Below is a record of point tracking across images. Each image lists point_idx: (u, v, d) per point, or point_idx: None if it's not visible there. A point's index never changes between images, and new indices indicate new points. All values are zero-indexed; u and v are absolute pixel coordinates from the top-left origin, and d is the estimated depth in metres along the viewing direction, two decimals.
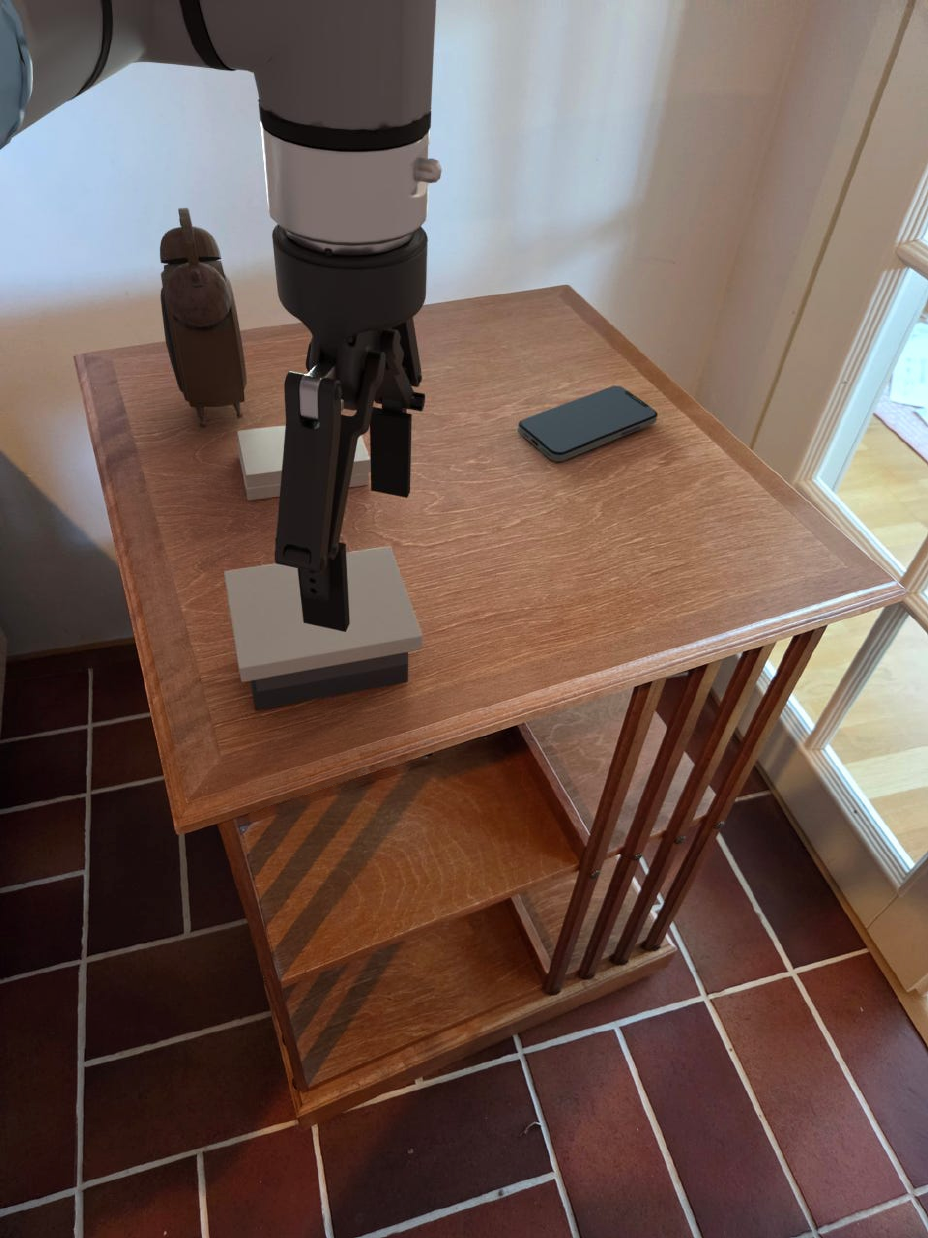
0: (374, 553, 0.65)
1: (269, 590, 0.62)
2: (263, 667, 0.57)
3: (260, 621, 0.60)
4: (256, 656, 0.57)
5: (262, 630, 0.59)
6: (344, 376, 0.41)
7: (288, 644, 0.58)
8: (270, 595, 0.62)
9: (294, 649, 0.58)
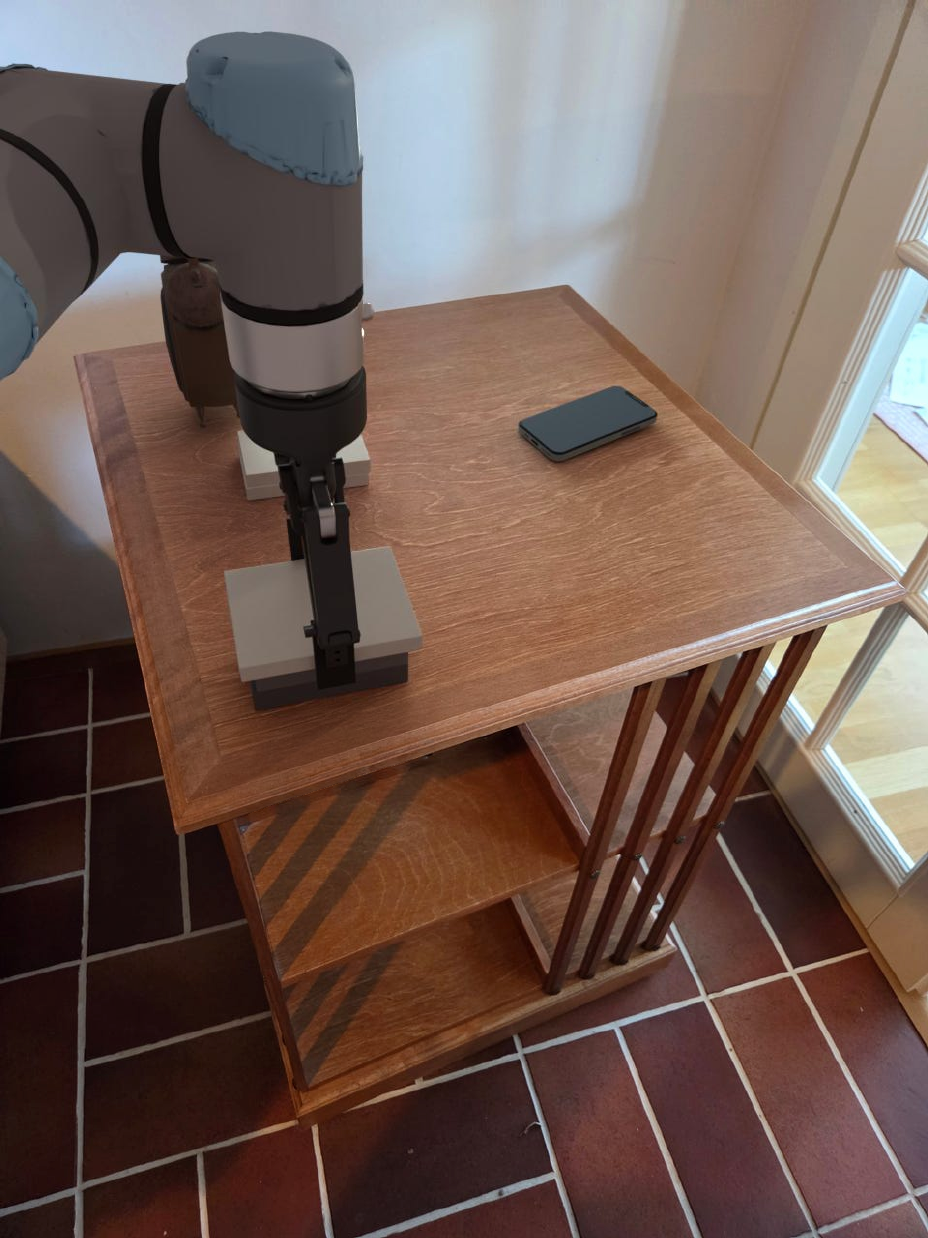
0: (374, 553, 0.65)
1: (269, 590, 0.62)
2: (263, 667, 0.57)
3: (260, 621, 0.60)
4: (255, 656, 0.57)
5: (262, 630, 0.59)
6: (333, 488, 0.49)
7: (288, 644, 0.58)
8: (270, 595, 0.62)
9: (294, 649, 0.58)
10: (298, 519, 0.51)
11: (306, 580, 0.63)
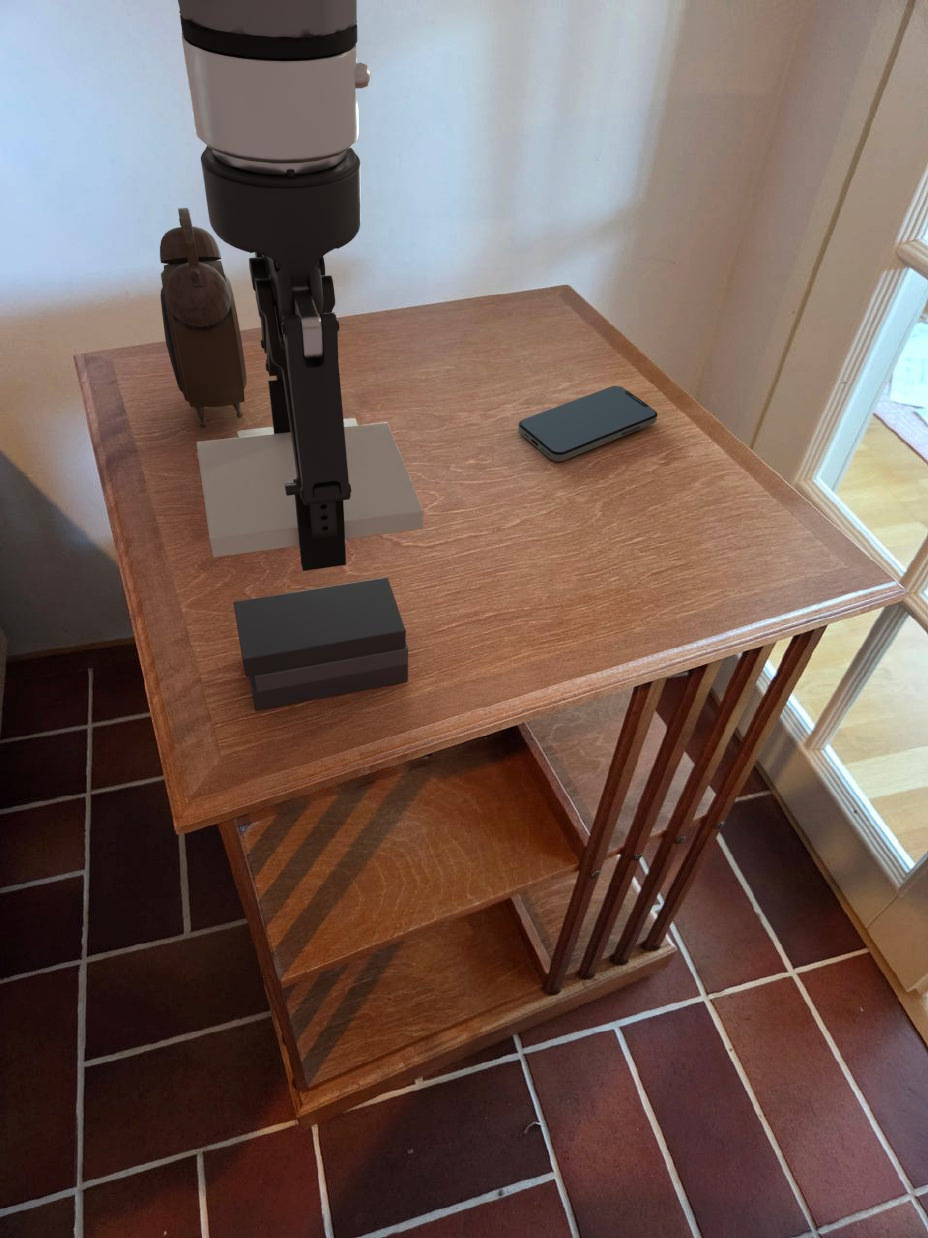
0: (369, 428, 0.58)
1: (247, 462, 0.54)
2: (238, 539, 0.49)
3: (236, 492, 0.52)
4: (230, 526, 0.50)
5: (238, 501, 0.51)
6: (320, 301, 0.41)
7: (268, 516, 0.50)
8: (249, 466, 0.54)
9: (275, 520, 0.50)
10: (278, 346, 0.43)
11: (291, 453, 0.55)
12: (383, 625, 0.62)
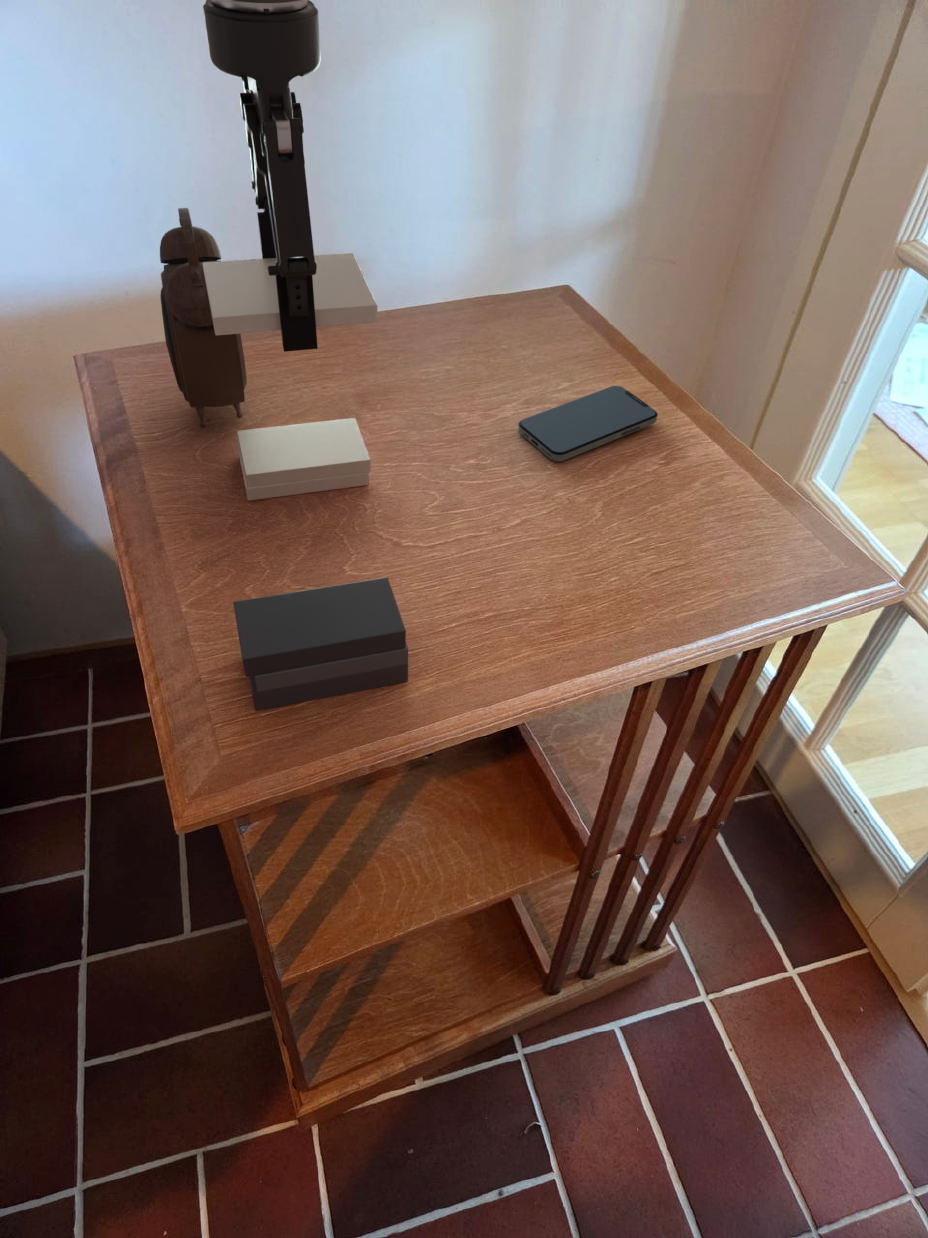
0: (338, 256, 0.73)
1: (242, 274, 0.69)
2: (234, 320, 0.65)
3: (233, 291, 0.67)
4: (228, 311, 0.65)
5: (234, 296, 0.67)
6: (290, 115, 0.57)
7: (257, 305, 0.66)
8: (243, 277, 0.69)
9: (262, 308, 0.66)
10: (261, 155, 0.59)
11: None
12: (383, 625, 0.62)
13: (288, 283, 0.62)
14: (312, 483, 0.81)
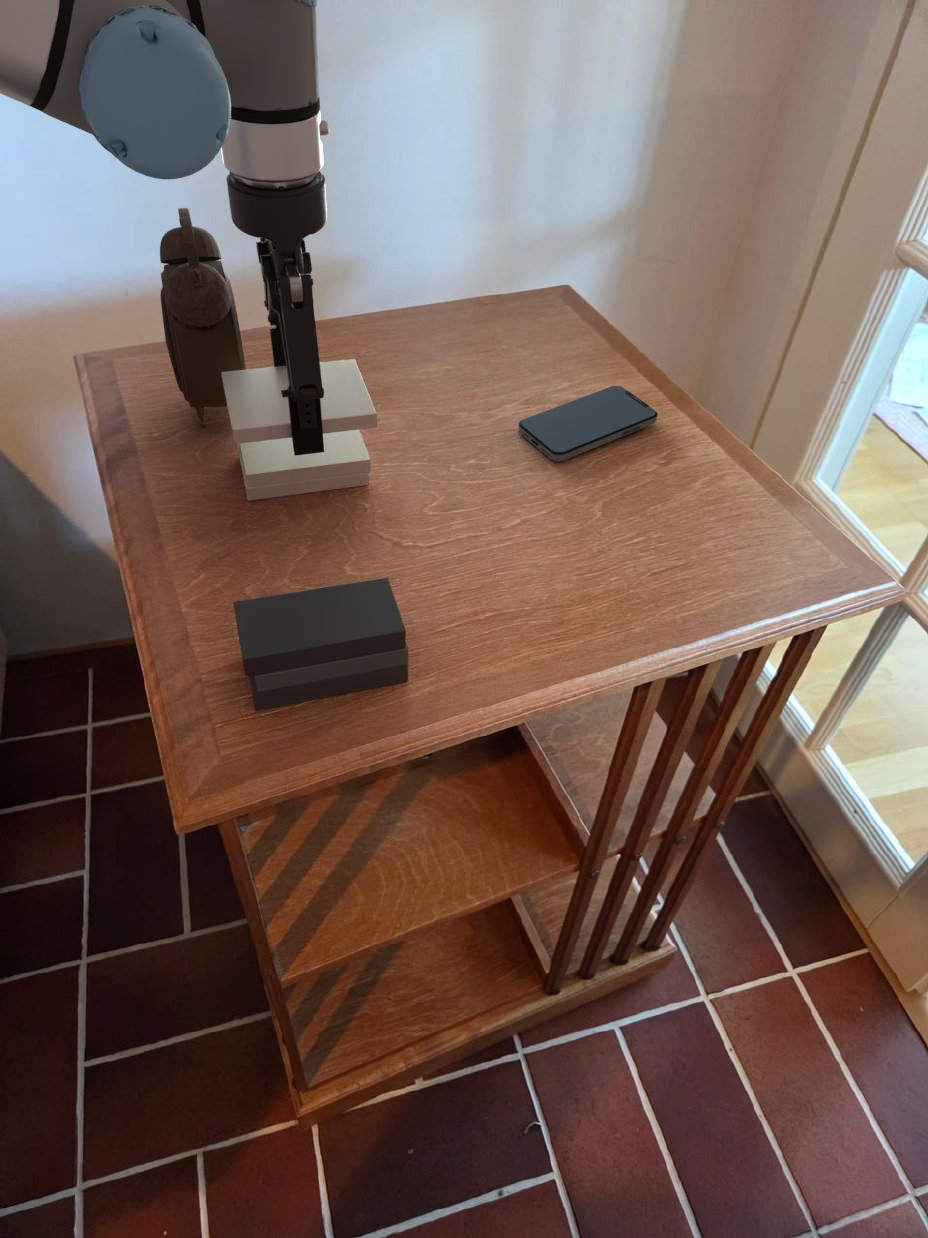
0: (341, 363, 0.82)
1: (256, 384, 0.78)
2: (251, 431, 0.74)
3: (249, 402, 0.76)
4: (246, 422, 0.74)
5: (251, 407, 0.76)
6: (301, 267, 0.66)
7: (271, 416, 0.75)
8: (257, 387, 0.78)
9: (276, 419, 0.75)
10: (276, 298, 0.68)
11: (286, 378, 0.79)
12: (383, 625, 0.62)
13: (299, 403, 0.71)
14: (312, 483, 0.81)
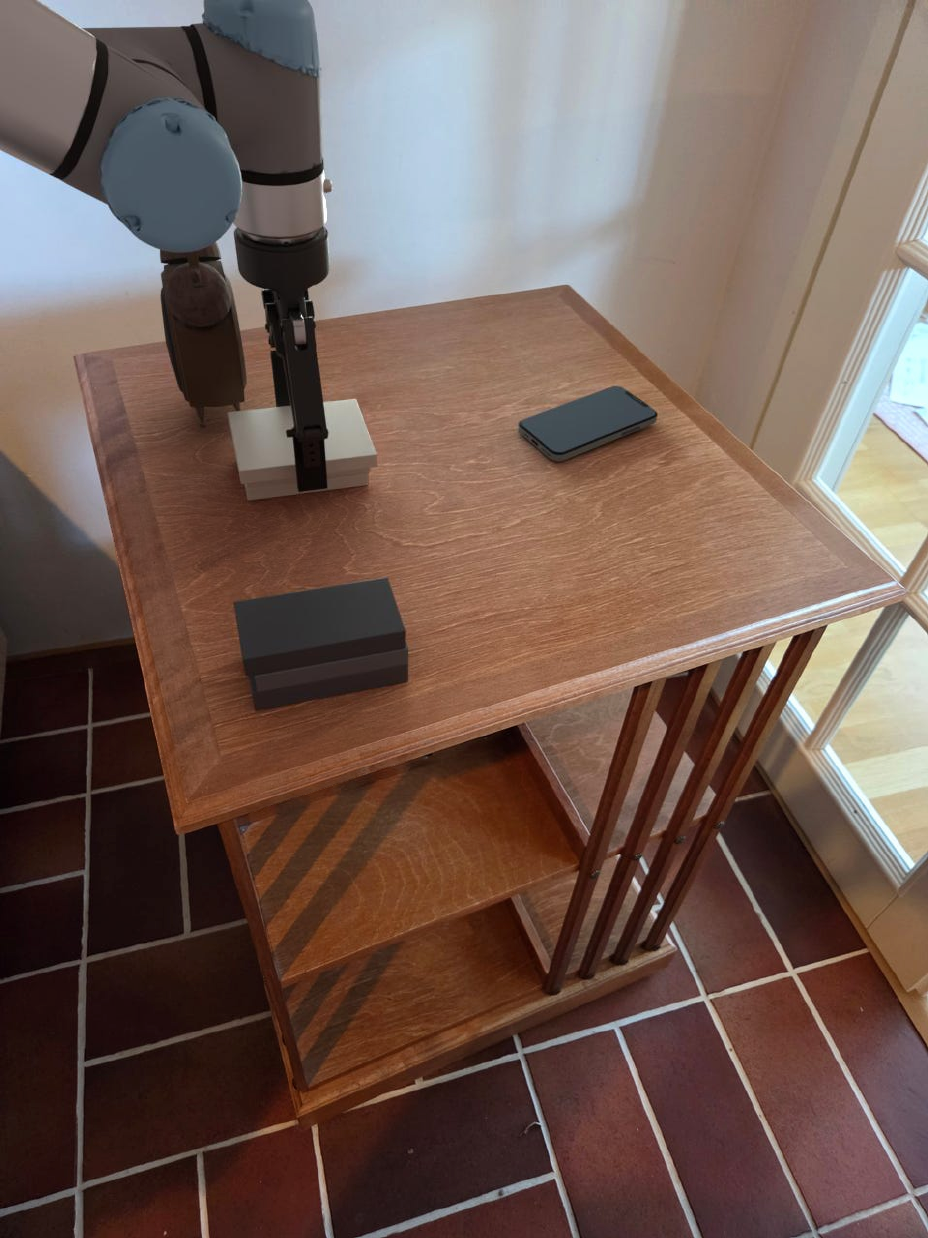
0: (343, 403, 0.85)
1: (261, 424, 0.82)
2: (257, 472, 0.77)
3: (255, 443, 0.79)
4: (251, 464, 0.77)
5: (256, 448, 0.79)
6: (305, 316, 0.69)
7: (276, 457, 0.78)
8: (262, 427, 0.81)
9: (280, 460, 0.78)
10: (280, 342, 0.70)
11: (290, 419, 0.83)
12: (383, 625, 0.62)
13: (303, 443, 0.72)
14: None
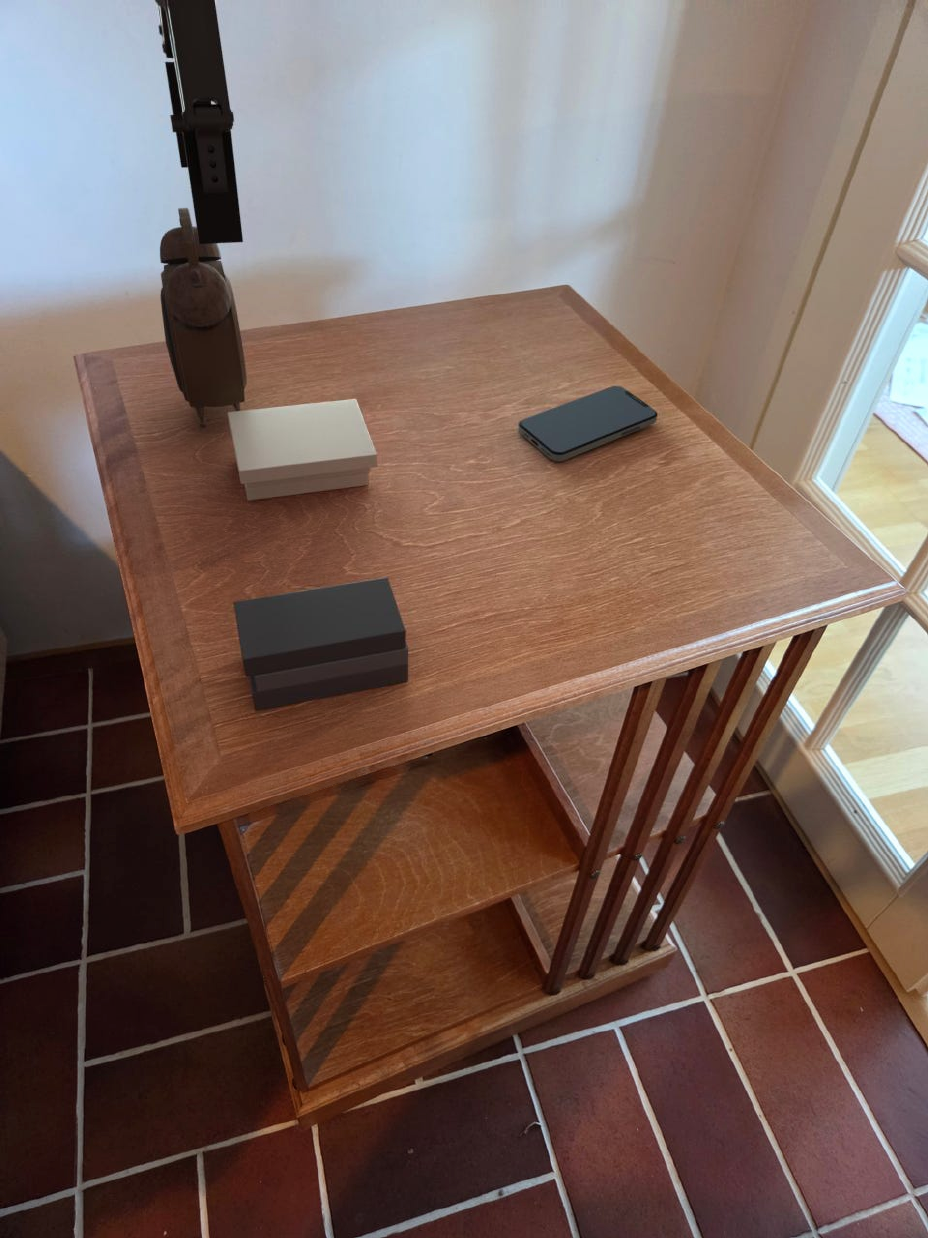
0: (343, 403, 0.85)
1: (261, 424, 0.82)
2: (257, 472, 0.77)
3: (255, 443, 0.79)
4: (251, 464, 0.77)
5: (256, 448, 0.79)
6: None
7: (276, 457, 0.78)
8: (262, 427, 0.81)
9: (280, 460, 0.78)
10: None
11: (290, 419, 0.83)
12: (383, 625, 0.62)
13: (198, 144, 0.48)
14: (312, 483, 0.81)
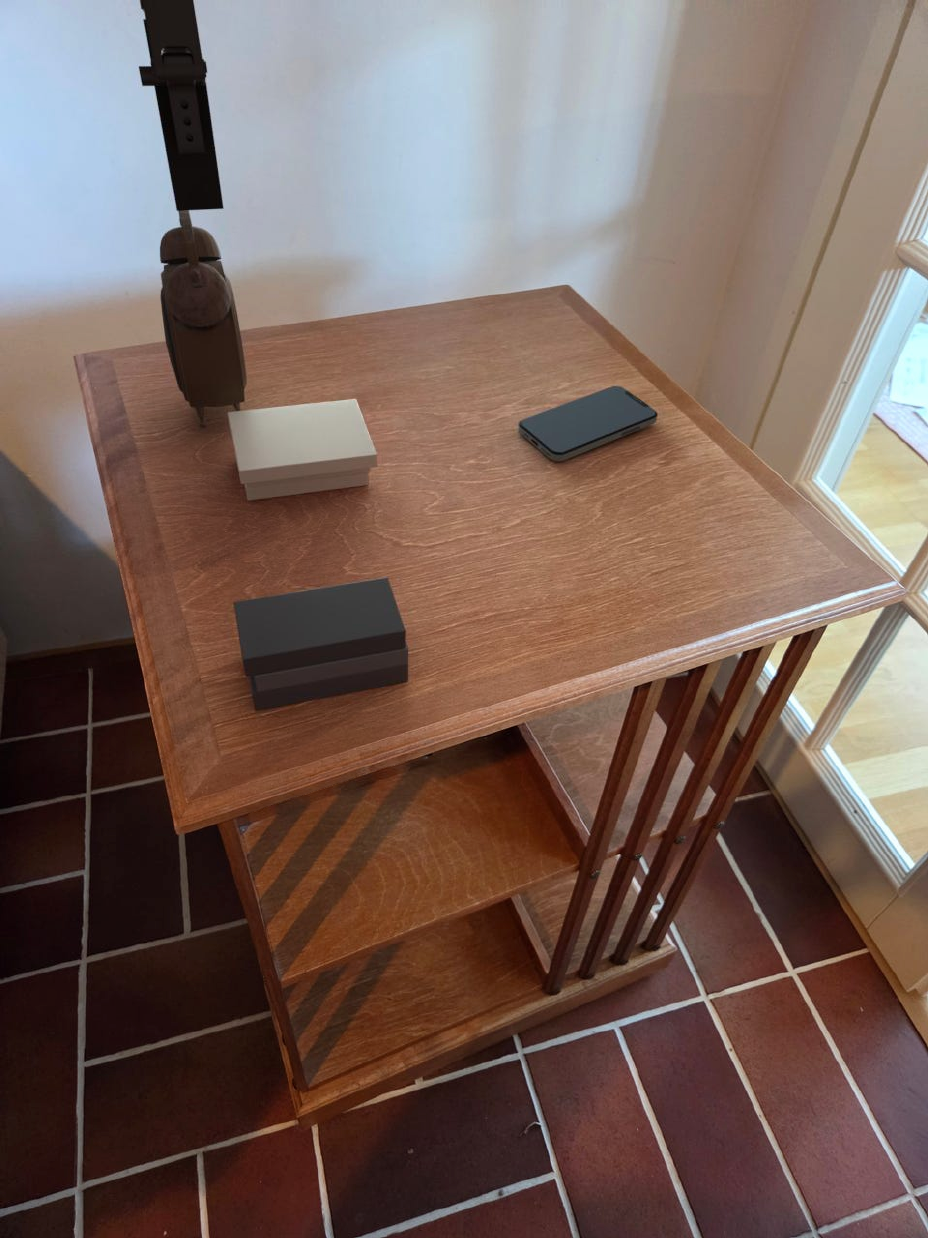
0: (343, 403, 0.85)
1: (261, 424, 0.82)
2: (257, 472, 0.77)
3: (255, 443, 0.79)
4: (251, 464, 0.77)
5: (256, 448, 0.79)
6: None
7: (276, 457, 0.78)
8: (262, 427, 0.81)
9: (280, 460, 0.78)
10: None
11: (290, 419, 0.83)
12: (383, 625, 0.62)
13: (171, 98, 0.44)
14: (312, 483, 0.81)
